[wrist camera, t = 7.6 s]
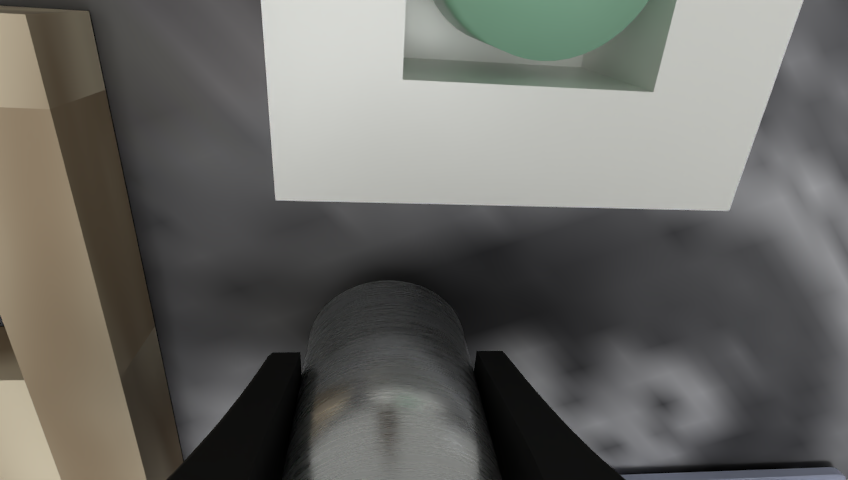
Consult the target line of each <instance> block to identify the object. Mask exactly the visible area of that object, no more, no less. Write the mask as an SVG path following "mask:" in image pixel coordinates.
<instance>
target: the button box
mask: <svg viewBox="0 0 848 480" xmlns="http://www.w3.org/2000/svg"><path fill="white" fill-rule="evenodd" d="M802 3H803V0H649V1H648V2H647V4H646V5H645V7H644V8H643V9H642V11H641V12H640V13H639V14H638V15H637V17H636V18H635V19H634V20H633V21H632V22H631V23H630V24H629V25H628V26H627V27H626V28H625V29H624V30H623V31H621V32H620V33H619V34H618V35H616V36H615V37H614V38H612V39H611V40H610V41H608V42H606V43H605V44H603V45H601V46H600V47H598V48H596V49H594V50H592V51H590V52H587V53H585V54H583V55H579V56H576V57H573V58H569V59H563V60H557V61H537V60H530V59H525V58H521V57H518V56H514V55H512V54H509V53H507V52H505V51H502V50H500V49H498V48H495V47H493V46H491V45H488V44H486V43H484V42H481V41H479V40H477V39H474V38H472V37H470V36H468V35H466V34H464V33H463V32H461V31H459V30H458V29H457V28H456V27H454V26H453V25H452V24H451V23H450V22H449V21H448V20H447V19H446V18H445V17H444V16H443V15H442V13H441V12H440V10H439V9H438V8H437V6H436V5H435V3H434V1H433V0H261V9H262V23H263V37H264V50H265V64H266V78H267V91H268V105H269V119H270V133H271V146H272V160H273V174H274V187H275V200H280V201H323V202H366V203H409V204H452V205H495V206H538V207H581V208H624V209H667V210H710V211H729V210H730V207H731V204H732V201H733V199H734V196H735V193H736V190H737V187H738V184H739V182H740V179H741V176H742V173H743V170H744V167H745V165H746V162H747V159H748V156H749V153H750V150H751V148H752V145H753V142H754V139H755V136H756V133H757V131H758V128H759V125H760V122H761V119H762V116H763V114H764V111H765V108H766V105H767V102H768V99H769V97H770V94H771V91H772V88H773V85H774V82H775V80H776V77H777V74H778V71H779V68H780V65H781V62H782V60H783V57H784V54H785V51H786V48H787V45H788V43H789V40H790V37H791V34H792V31H793V28H794V26H795V23H796V20H797V17H798V14H799V11H800V9H801V6H802Z"/></svg>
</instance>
